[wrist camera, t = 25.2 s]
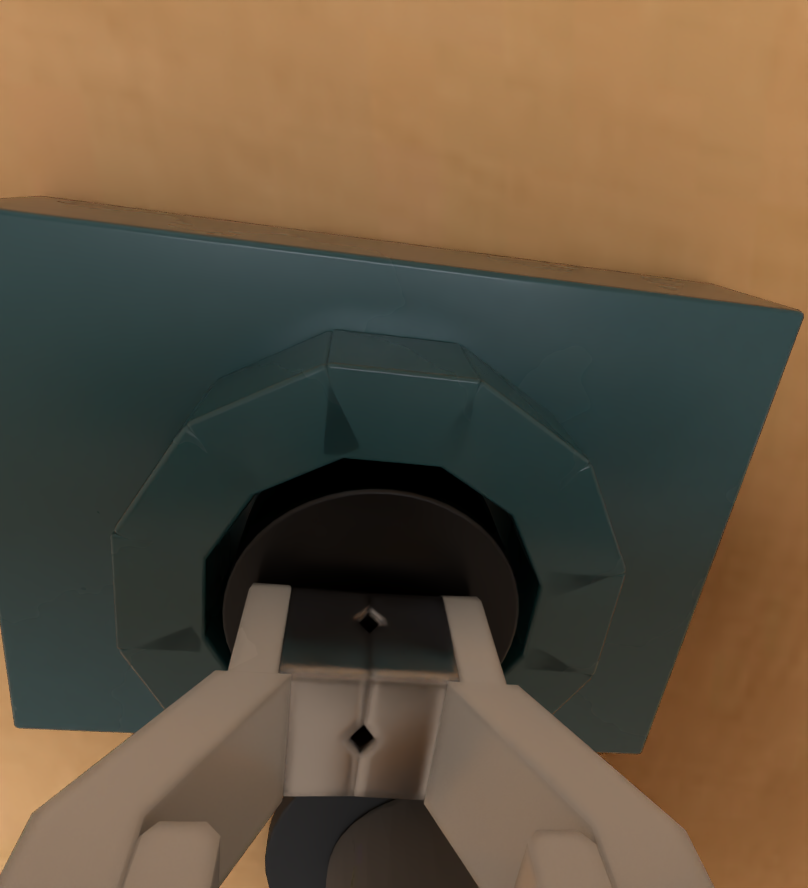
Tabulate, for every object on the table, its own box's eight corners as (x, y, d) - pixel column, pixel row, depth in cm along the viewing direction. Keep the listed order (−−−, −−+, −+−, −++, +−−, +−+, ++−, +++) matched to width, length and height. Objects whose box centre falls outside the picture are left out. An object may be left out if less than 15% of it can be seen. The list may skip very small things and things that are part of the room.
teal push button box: (714, 283, 12) (906, 341, 8) (596, 661, 15) (684, 843, 11) (37, 195, 10) (-175, 207, 6) (74, 631, 14) (-47, 824, 10)
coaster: (632, 726, 16) (642, 745, 16) (555, 943, 20) (561, 965, 19) (276, 710, 15) (273, 730, 15) (260, 941, 19) (257, 964, 18)
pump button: (516, 449, 10) (548, 504, 8) (471, 657, 11) (491, 738, 9) (248, 423, 9) (224, 475, 8) (239, 644, 11) (218, 727, 9)
